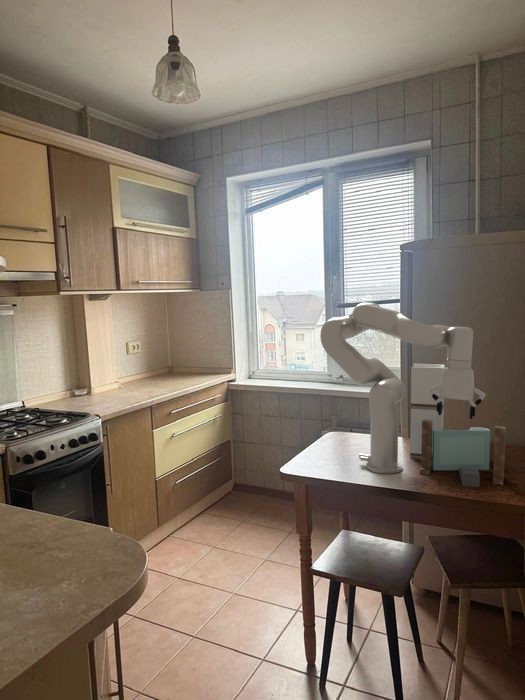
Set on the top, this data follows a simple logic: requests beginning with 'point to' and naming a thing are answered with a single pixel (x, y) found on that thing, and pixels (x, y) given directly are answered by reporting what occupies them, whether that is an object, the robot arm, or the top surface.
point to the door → (461, 449)
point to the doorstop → (469, 477)
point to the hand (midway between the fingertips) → (455, 416)
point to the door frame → (498, 451)
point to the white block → (424, 403)
